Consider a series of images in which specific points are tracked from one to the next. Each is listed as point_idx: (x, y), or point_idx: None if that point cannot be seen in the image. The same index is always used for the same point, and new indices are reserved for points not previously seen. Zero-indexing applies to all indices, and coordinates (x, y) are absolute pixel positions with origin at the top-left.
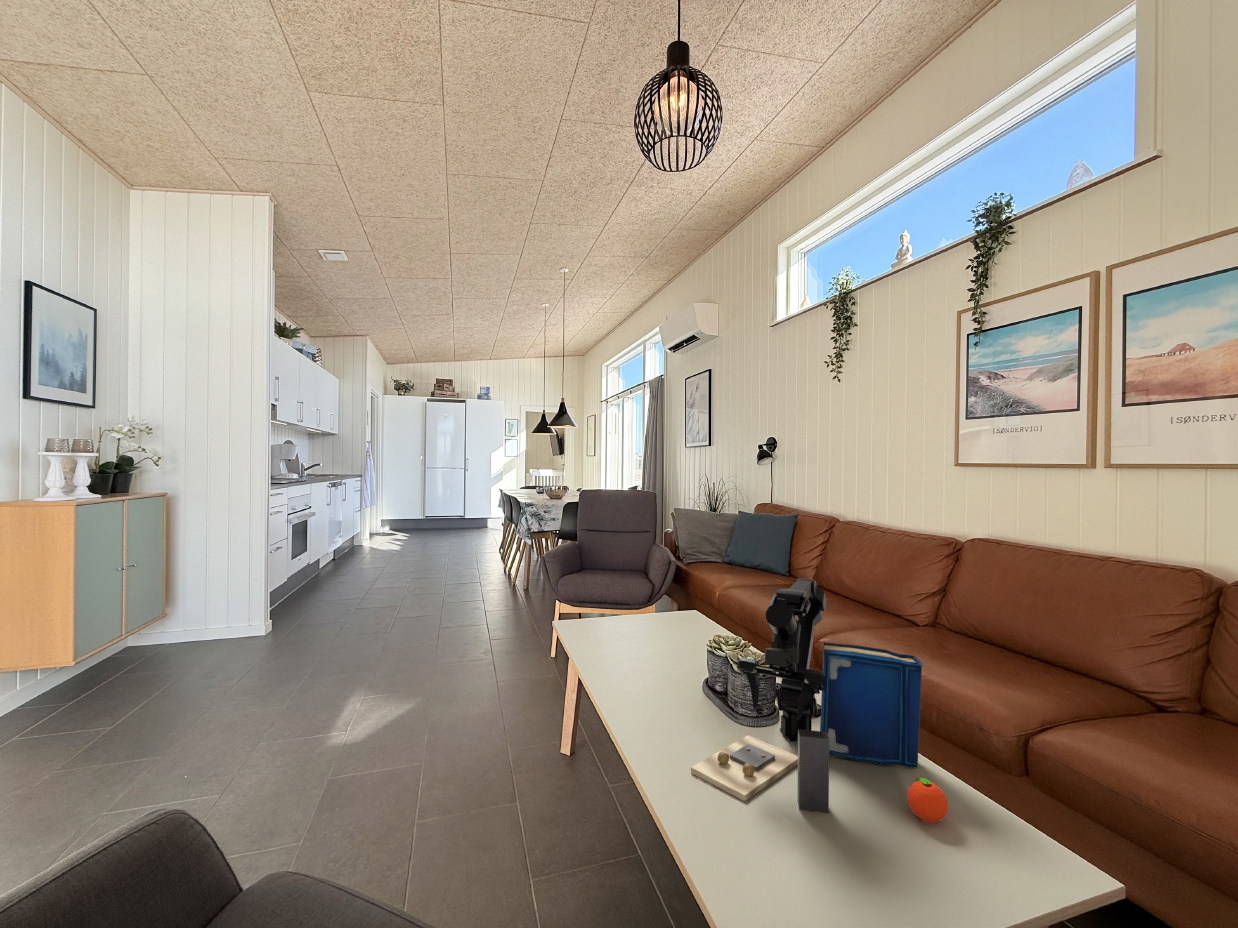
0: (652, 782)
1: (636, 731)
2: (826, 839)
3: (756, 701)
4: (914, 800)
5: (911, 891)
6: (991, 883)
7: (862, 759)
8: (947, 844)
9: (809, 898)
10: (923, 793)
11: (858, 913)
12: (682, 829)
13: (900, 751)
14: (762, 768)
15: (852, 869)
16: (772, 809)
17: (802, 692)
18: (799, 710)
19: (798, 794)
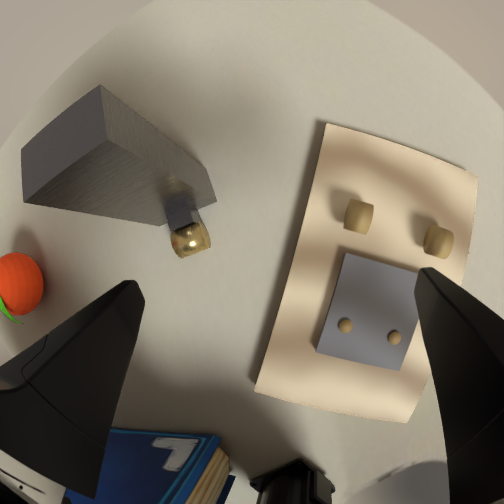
0: (494, 111)
1: None
2: (146, 115)
3: (437, 306)
4: (19, 260)
5: (61, 102)
6: (5, 181)
7: (137, 431)
8: (22, 229)
9: (162, 11)
10: (1, 262)
11: (114, 32)
12: (373, 16)
13: None
14: (332, 275)
15: (113, 83)
16: (258, 134)
17: (18, 382)
18: (100, 303)
19: (201, 176)
